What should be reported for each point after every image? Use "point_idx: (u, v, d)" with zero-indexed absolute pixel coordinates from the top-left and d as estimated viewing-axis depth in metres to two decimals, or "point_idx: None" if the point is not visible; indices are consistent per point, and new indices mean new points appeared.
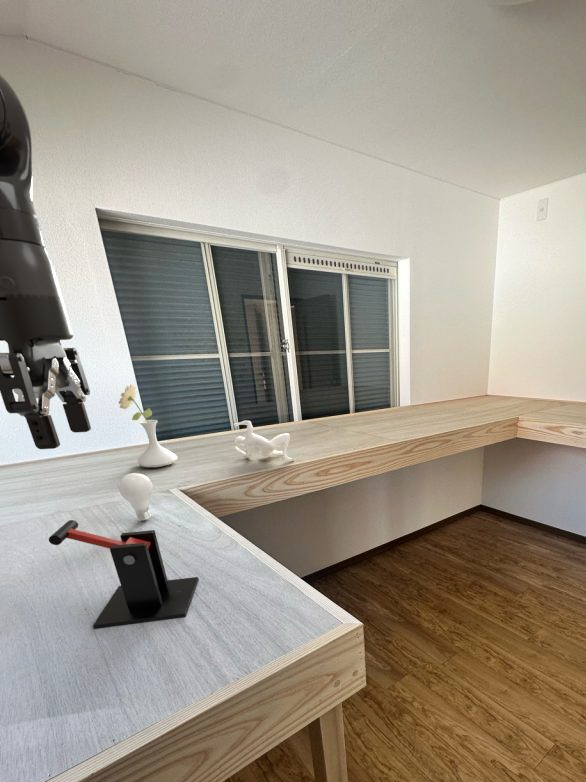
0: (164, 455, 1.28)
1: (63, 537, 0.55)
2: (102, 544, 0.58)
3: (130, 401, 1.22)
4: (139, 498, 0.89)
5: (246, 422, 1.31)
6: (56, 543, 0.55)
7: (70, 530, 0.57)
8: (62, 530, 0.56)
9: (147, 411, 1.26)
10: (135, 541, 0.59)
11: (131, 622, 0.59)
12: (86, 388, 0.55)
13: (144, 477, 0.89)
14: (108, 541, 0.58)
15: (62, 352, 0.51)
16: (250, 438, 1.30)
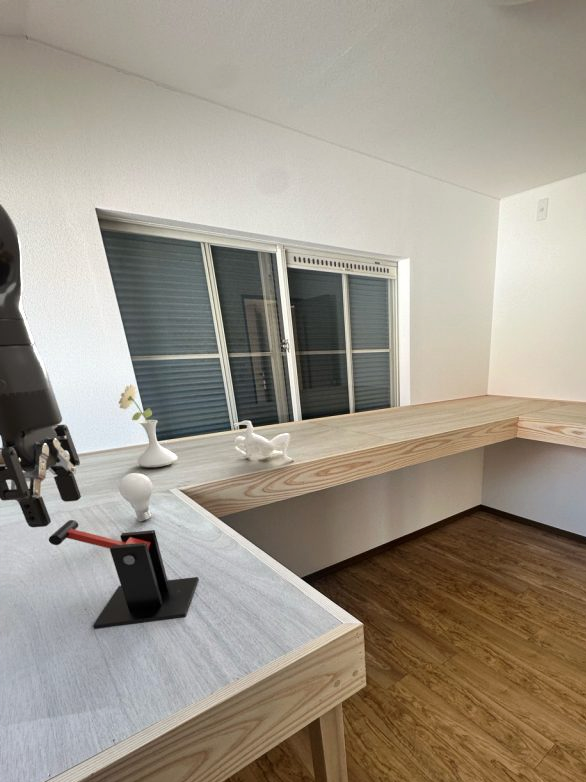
0: (164, 455, 1.28)
1: (63, 537, 0.55)
2: (102, 544, 0.58)
3: (130, 401, 1.22)
4: (139, 498, 0.89)
5: (246, 422, 1.31)
6: (56, 543, 0.55)
7: (70, 530, 0.57)
8: (62, 530, 0.56)
9: (147, 411, 1.26)
10: (135, 541, 0.59)
11: (131, 622, 0.59)
12: (76, 459, 0.59)
13: (144, 477, 0.89)
14: (108, 541, 0.58)
15: (52, 432, 0.54)
16: (250, 438, 1.30)
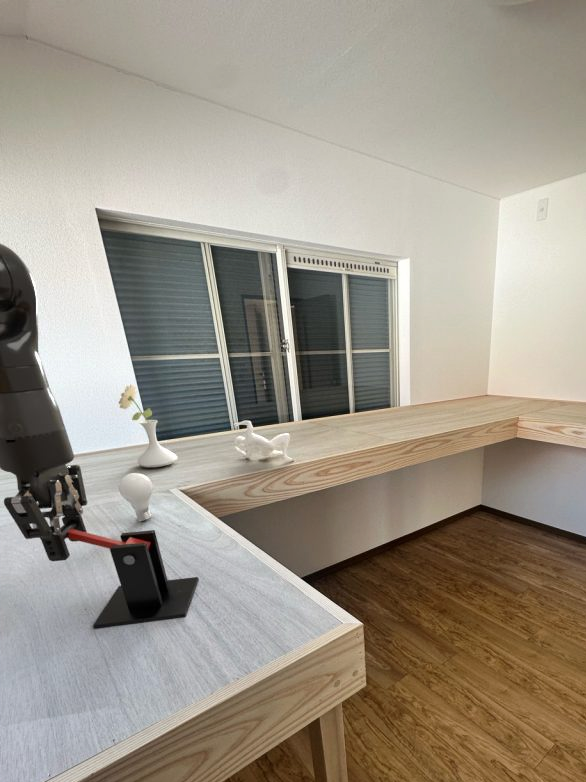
0: (164, 455, 1.28)
1: None
2: (102, 544, 0.58)
3: (130, 401, 1.22)
4: (139, 498, 0.89)
5: (246, 422, 1.31)
6: None
7: (70, 530, 0.57)
8: (62, 530, 0.56)
9: (147, 411, 1.26)
10: (135, 541, 0.59)
11: (131, 622, 0.59)
12: (83, 499, 0.60)
13: (144, 477, 0.89)
14: (108, 541, 0.58)
15: (64, 468, 0.56)
16: (250, 438, 1.30)
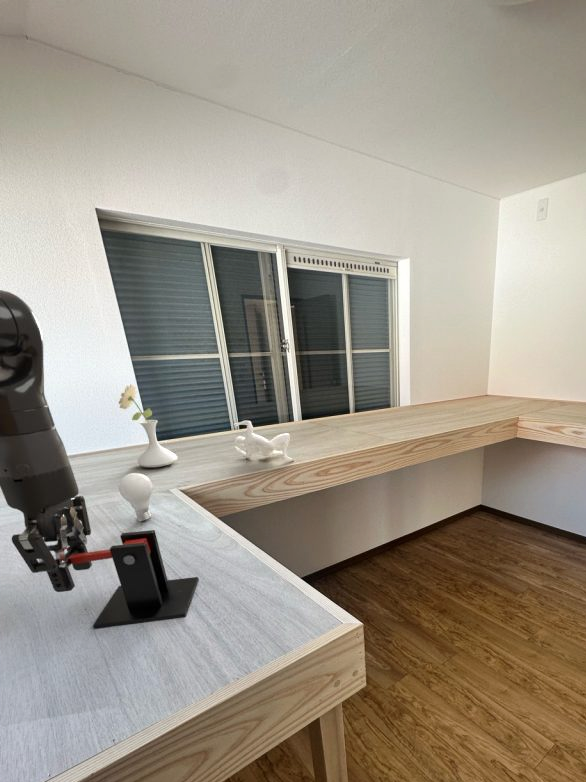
0: (164, 455, 1.28)
1: None
2: (103, 557, 0.59)
3: (130, 401, 1.22)
4: (139, 498, 0.89)
5: (246, 422, 1.31)
6: None
7: (71, 556, 0.58)
8: None
9: (147, 411, 1.26)
10: (130, 542, 0.59)
11: (131, 622, 0.59)
12: (87, 529, 0.62)
13: (144, 477, 0.89)
14: (106, 552, 0.59)
15: (69, 501, 0.58)
16: (250, 438, 1.30)
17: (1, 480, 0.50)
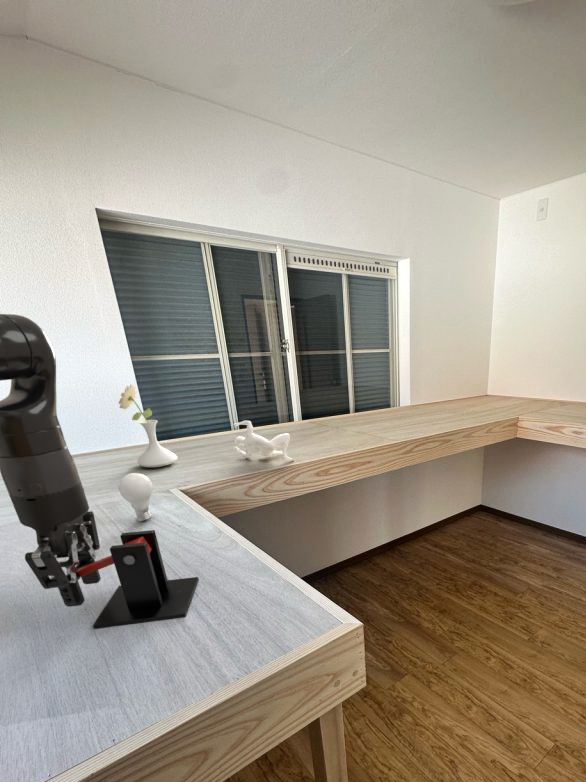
0: (164, 455, 1.28)
1: None
2: (107, 563, 0.59)
3: (130, 401, 1.22)
4: (139, 498, 0.89)
5: (246, 422, 1.31)
6: None
7: (78, 569, 0.59)
8: None
9: (147, 411, 1.26)
10: (129, 543, 0.59)
11: (131, 622, 0.59)
12: (96, 544, 0.63)
13: (144, 477, 0.89)
14: (109, 558, 0.59)
15: None
16: (250, 438, 1.30)
17: (14, 499, 0.51)
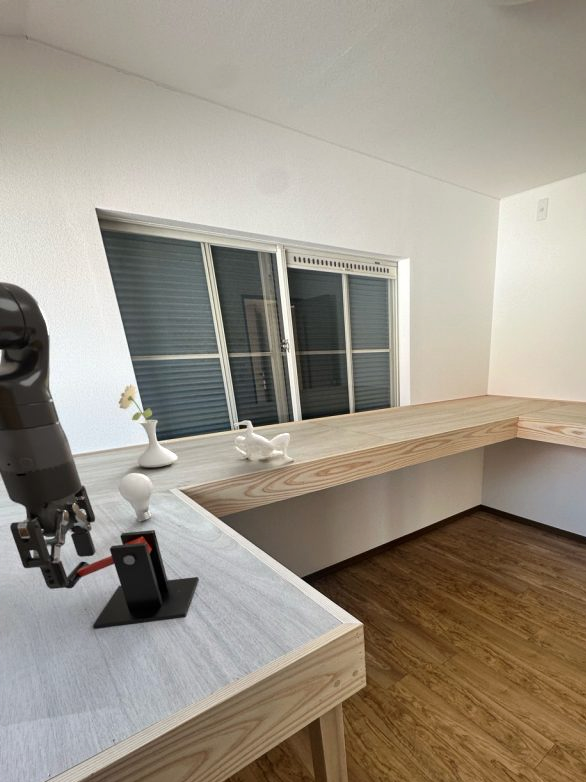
0: (164, 455, 1.28)
1: (73, 578, 0.58)
2: (107, 563, 0.59)
3: (130, 401, 1.22)
4: (139, 498, 0.89)
5: (246, 422, 1.31)
6: (71, 585, 0.57)
7: (78, 570, 0.59)
8: (70, 573, 0.58)
9: (147, 411, 1.26)
10: (128, 543, 0.59)
11: (131, 622, 0.59)
12: (92, 517, 0.62)
13: (144, 477, 0.89)
14: (109, 558, 0.59)
15: (71, 496, 0.58)
16: (250, 438, 1.30)
17: (4, 474, 0.49)
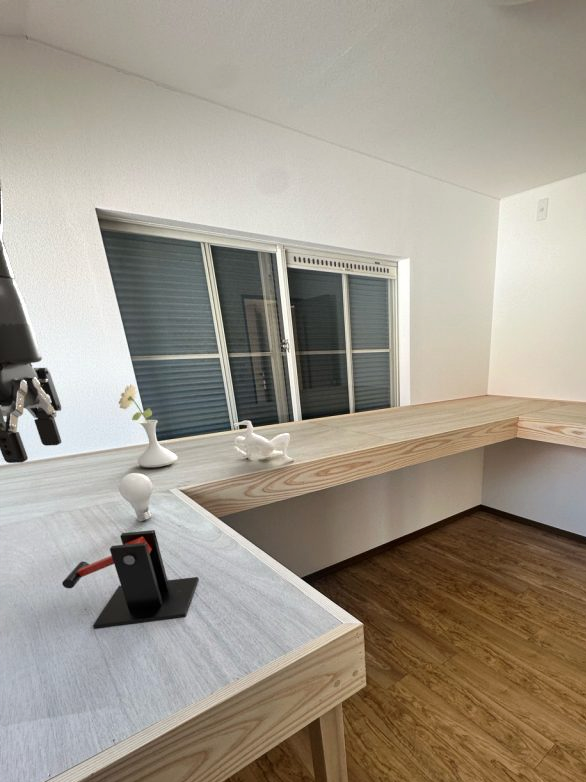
0: (164, 455, 1.28)
1: (73, 578, 0.58)
2: (107, 563, 0.59)
3: (130, 401, 1.22)
4: (139, 498, 0.89)
5: (246, 422, 1.31)
6: (71, 585, 0.57)
7: (78, 570, 0.59)
8: (70, 573, 0.58)
9: (147, 411, 1.26)
10: (128, 543, 0.59)
11: (131, 622, 0.59)
12: (57, 404, 0.60)
13: (144, 477, 0.89)
14: (109, 558, 0.59)
15: (32, 373, 0.55)
16: (250, 438, 1.30)
17: None
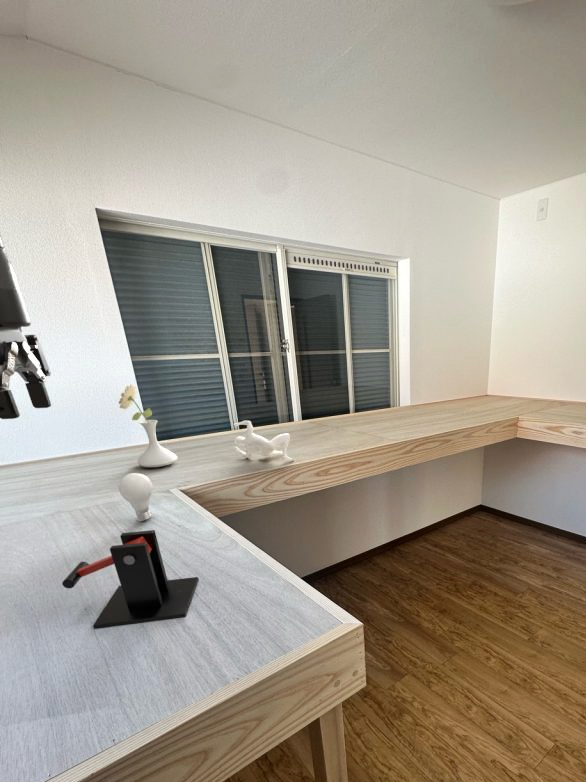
0: (164, 455, 1.28)
1: (73, 578, 0.58)
2: (107, 563, 0.59)
3: (130, 401, 1.22)
4: (139, 498, 0.89)
5: (246, 422, 1.31)
6: (71, 585, 0.57)
7: (78, 570, 0.59)
8: (70, 573, 0.58)
9: (147, 411, 1.26)
10: (128, 543, 0.59)
11: (131, 622, 0.59)
12: (46, 370, 0.64)
13: (144, 477, 0.89)
14: (109, 558, 0.59)
15: (22, 338, 0.59)
16: (250, 438, 1.30)
17: None
